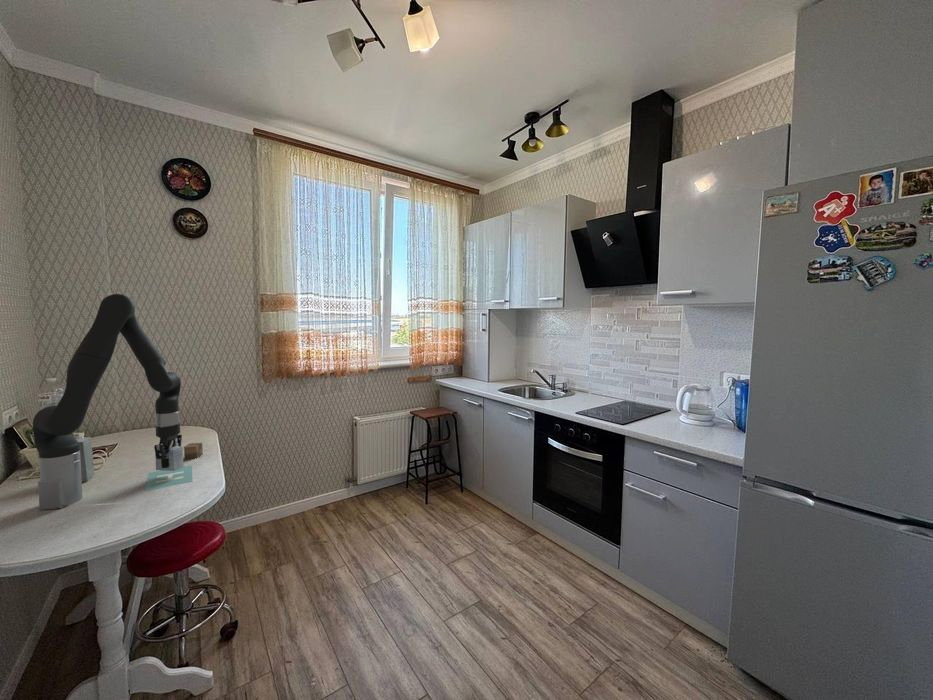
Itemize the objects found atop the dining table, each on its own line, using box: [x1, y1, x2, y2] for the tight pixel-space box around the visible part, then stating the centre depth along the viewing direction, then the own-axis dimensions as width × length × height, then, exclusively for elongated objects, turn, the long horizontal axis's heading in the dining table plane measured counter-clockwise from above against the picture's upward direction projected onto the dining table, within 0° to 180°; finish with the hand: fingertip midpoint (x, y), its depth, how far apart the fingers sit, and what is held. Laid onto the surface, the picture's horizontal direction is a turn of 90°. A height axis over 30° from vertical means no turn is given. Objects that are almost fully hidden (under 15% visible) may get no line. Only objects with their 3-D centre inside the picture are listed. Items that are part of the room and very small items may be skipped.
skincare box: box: [75, 436, 95, 483], centre depth 141 cm, size 8×7×16 cm
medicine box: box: [154, 445, 184, 471], centre depth 144 cm, size 8×4×9 cm, turn 86°
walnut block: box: [183, 442, 204, 460], centre depth 166 cm, size 5×5×6 cm
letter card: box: [144, 464, 193, 492], centre depth 144 cm, size 20×14×1 cm
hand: (169, 464), depth 144 cm, fingers closed on medicine box, 5 cm apart
